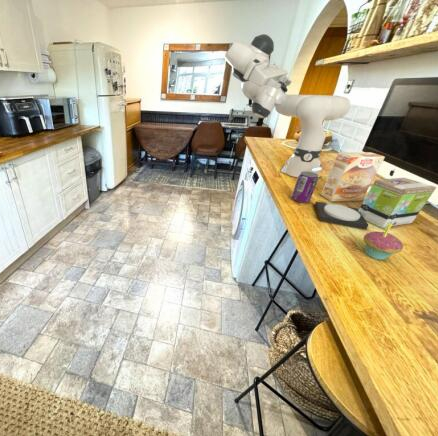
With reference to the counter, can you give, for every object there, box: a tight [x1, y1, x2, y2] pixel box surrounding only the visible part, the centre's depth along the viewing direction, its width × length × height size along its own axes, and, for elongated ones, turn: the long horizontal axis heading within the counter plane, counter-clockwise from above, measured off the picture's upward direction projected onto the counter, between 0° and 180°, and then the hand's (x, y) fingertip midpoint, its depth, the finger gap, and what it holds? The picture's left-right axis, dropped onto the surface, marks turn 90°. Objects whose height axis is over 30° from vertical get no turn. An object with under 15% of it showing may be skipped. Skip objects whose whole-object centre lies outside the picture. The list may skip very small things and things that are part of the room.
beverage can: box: [290, 171, 319, 204], centre depth 100 cm, size 7×7×12 cm
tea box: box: [358, 177, 437, 229], centre depth 86 cm, size 15×10×15 cm, turn 105°
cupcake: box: [363, 221, 404, 261], centre depth 68 cm, size 9×8×12 cm
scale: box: [313, 201, 369, 231], centre depth 90 cm, size 14×14×3 cm
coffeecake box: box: [320, 151, 386, 203], centre depth 101 cm, size 15×7×20 cm, turn 95°
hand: (285, 85), depth 95 cm, fingers open, 8 cm apart
